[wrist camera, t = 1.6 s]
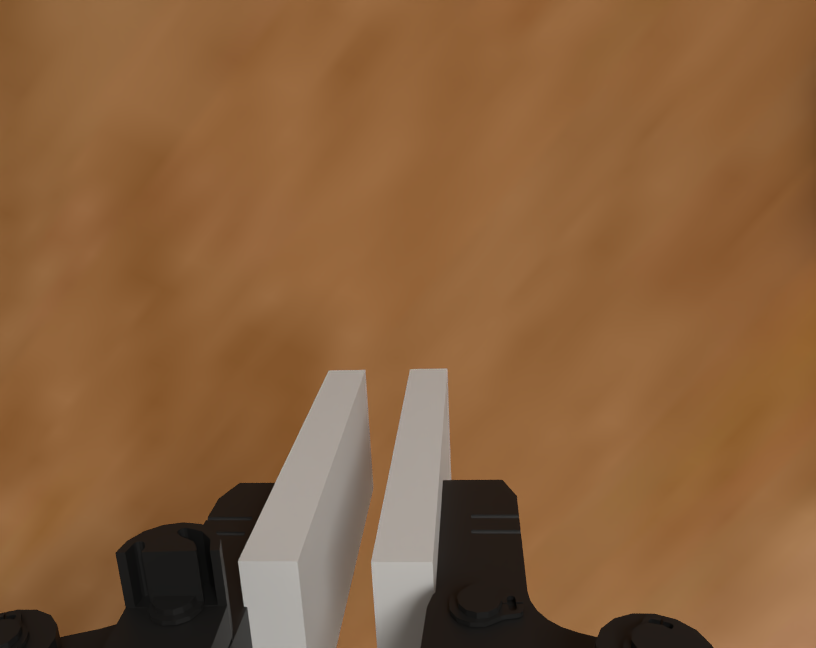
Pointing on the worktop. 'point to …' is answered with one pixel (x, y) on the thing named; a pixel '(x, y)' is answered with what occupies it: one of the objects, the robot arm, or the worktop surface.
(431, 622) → the robot arm
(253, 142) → the worktop surface
